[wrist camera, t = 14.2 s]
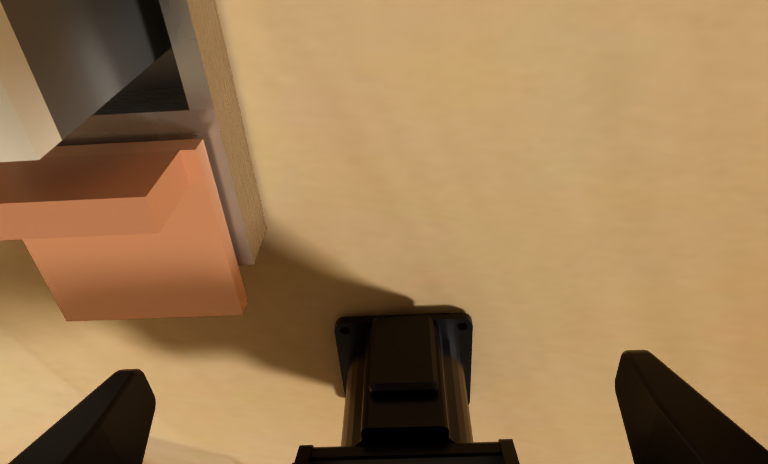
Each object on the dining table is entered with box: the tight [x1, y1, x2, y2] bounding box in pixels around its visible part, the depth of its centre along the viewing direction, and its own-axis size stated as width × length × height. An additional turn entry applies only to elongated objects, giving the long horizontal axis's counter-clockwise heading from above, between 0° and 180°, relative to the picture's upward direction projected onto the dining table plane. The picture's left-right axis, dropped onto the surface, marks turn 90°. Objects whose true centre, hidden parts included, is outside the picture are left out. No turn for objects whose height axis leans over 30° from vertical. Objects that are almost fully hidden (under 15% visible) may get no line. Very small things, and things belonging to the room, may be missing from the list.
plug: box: [0, 0, 166, 162], centre depth 14 cm, size 4×4×8 cm
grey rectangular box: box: [56, 0, 267, 265], centre depth 18 cm, size 13×8×2 cm, turn 4°
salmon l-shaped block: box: [0, 139, 248, 321], centre depth 18 cm, size 7×7×4 cm
